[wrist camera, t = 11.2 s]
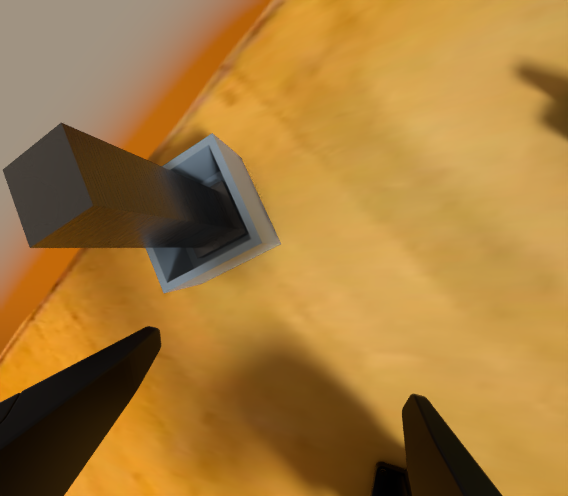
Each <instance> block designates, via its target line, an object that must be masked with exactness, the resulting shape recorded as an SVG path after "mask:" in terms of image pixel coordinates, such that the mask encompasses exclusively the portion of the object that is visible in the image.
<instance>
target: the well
mask: <svg viewBox="0 0 568 496" xmlns="http://www.w3.org/2000/svg"><path fill="white" fill-rule="evenodd" d="M162 167H164V168H166V169H168V170H171V171H173V172H175V173H178V174H180V175H182V176H184V177H187V178H189V179H191V180H194V181H196V182H198V183H200V184H203V185H205V186H207V187H211V186H212V185H214V184H216V183H217V182H219V181H221V180H223V181H224V182H226V184H227V186H228V188H229V190H230V193H231V195H232V197H233V199H234V201H235V204H236V206H237V208H238V210H239V212H240V215H241V217H242V219H243V221H244V224H245V226H246V228H247V230H248V232H249V234H248V235H246V236H244V237H242V238H240V239H238V240H237V241H235V242H233V243H231V244H229V245H227V246H225V247H223V248H221V249H220V250H218V251H216V252H214V253H212V254H210V255H208V256H206V257H204V258H197V257H196V254H195V252H194V250H193V248H146V250H147V253H148V255H149V258H150V260H151V262H152V265H153V267H154V270H155V272H156V275H157V277H158V280H159V282H160V285H161V287H162V290H163V292H164V293H167V292H171V291H175V290H179V289H183V288H187V287H191V286H195V285H199V284H202V283H204V282H206V281H208V280H210V279H212V278H214V277H216V276H218V275H220V274H222V273H224V272H226V271H228V270H230V269H232V268H234V267H236V266H238V265H240V264H242V263H244V262H246V261H248V260H250V259H252V258H254V257H256V256H258V255H260V254H262V253H264V252H266V251H268V250H270V249H272V248H274V247H276V246H278V245H280V244H281V243H280V240H279V238H278V236H277V234H276V232H275V230H274V228H273V225H272V223H271V221H270V219H269V217H268V215H267V212H266V210H265V208H264V206H263V204H262V202H261V200H260V197H259V195H258V193H257V191H256V189H255V187H254V184H253V182H252V180H251V178H250V176H249V174H248V172H247V169H246V167H245V165H244V163H243V161H242V159H241V157H240V156H239V155H237V154H236V153H235V152H234V151H233V150H232V149H230V148H229V147H228V146H227V145H226V144H224V143H223V142H222V141H221V140H220V139H219V138H217V137H216V136H215V135H214V134H213V133H212V134H210V135H209V136H207V137H206V138H204V139H203V140H201V141H200V142H198V143H197V144H195V145H194V146H192V147H191V148H189V149H188V150H186V151H185V152H183V153H182V154H180V155H179V156H177V157H176V158H174V159H173V160H171V161H170V162H168V163H166V164H165V165H163V166H162Z"/></svg>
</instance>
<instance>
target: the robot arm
mask: <svg viewBox="0 0 568 496" xmlns="http://www.w3.org/2000/svg"><path fill="white" fill-rule="evenodd" d="M160 348H161V337H160V330H159V329H158V328H154V327H150V326H148V327H145V328H143V329H141V330H139V331H137V332H135V333H133V334H131V335H130V336H128V337H126V338H124V339H122V340H120V341H118V342H116V343H114V344H112V345H110V346H108V347H106V348H104V349H103V350H101V351H99V352H97V353H95V354H93V355H91V356H89V357H87V358H85V359H83V360H81V361H79V362H77V363H76V364H74V365H72V366H70V367H68V368H66V369H64V370H62V371H60V372H58V373H56V374H54V375H52V376H50V377H49V378H47V379H45V380H43V381H41V382H39V383H37V384H35V385H33V386H31V387H29V388H27V389H25V390H23V391H22V392H21V393H17V394H16V395H14V396H12V397H10V398H8V399H6V400H4V401H2V402H0V496H64V495H65V494H66V492H67V491H68V489H69V488H70V486H71V485H72V484H73V482H74V481H75V479H76V478H77V476H78V475H79V473H80V472H81V471H82V469H83V468H84V466H85V465H86V463H87V462H88V460H89V459H90V458H91V456H92V455H93V453H94V452H95V450H96V449H97V448H98V446H99V445H100V443H101V442H102V440H103V439H104V437H105V436H106V435H107V433H108V432H109V430H110V429H111V427H112V426H113V425H114V423H115V422H116V420H117V419H118V417H119V416H120V414H121V413H122V412H123V410H124V409H125V407H126V406H127V404H128V403H129V402H130V400H131V399H132V397H133V396H134V394H135V393H136V391H137V389H138V388H139V386H140V384H141V382H142V381H143V379H144V377H145V375H146V374H147V372H148V370H149V368H150V367H151V365H152V363H153V361H154V360H155V358H156V356H157V354H158V352H159V351H160ZM402 421H403V431H404V441H405V452H406V461H407V469H408V471H407V470H405V469H402V468H399V467H396V466H393V465H390V464H387V463H385V462H378V463H377V464H376V468H375V473H374V479H373V484H372V490H371V495H370V496H502V494H501V493H500V492H499V491H498V489H497V488H496V487H495V485H494V484H493V483H492V482H491V480H490V479H489V478H488V476H487V475H486V474H485V473H484V471H483V470H482V469H481V467H480V466H479V465H478V463H477V462H476V461H475V460H474V458H473V457H472V456H471V454H470V453H469V452H468V451H467V449H466V448H465V447H464V445H463V444H462V443H461V442H460V440H459V439H458V438H457V436H456V435H455V434H454V433H453V431H452V430H451V429H450V427H449V426H448V425H447V424H446V422H445V421H444V420H443V418H442V417H441V416H440V415H439V413H438V412H437V411H436V409H435V408H434V407H433V406H432V404H431V403H430V402H429V400H428V399H427V398H426V397H424V396H421V395H417V394H411V395H410V397H409V398H408V400H407V402H406V403H405V405H404V407H403V409H402ZM381 469H384V470H385V471H381Z"/></svg>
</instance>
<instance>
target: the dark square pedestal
mask: <svg viewBox="0 0 568 496" xmlns="http://www.w3.org/2000/svg"><path fill="white" fill-rule="evenodd" d="M3 172H4V175H5V178H6V181H7V184H8V186H9V189H10V192H11V195H12V198H13V201H14V204H15V207H16V209H17V212H18V215H19V218H20V221H21V224H22V227H23V230H24V232H25V235H26V238H27V241H28V244H29V247H30V248H193V250H194V252H195V254H196V257H197V258H204V257H206V256H208V255H210V254H212V253H214V252H216V251H218V250H220V249H221V248H223V247H225V246H227V245H229V244H231V243H233V242H235V241H237V240H238V239H240V238H242V237H244V236H246V235H248V234H249V232H248V230H247V228H246V226H245V224H244V221H243V219H242V217H241V215H240V212H239V210H238V208H237V206H236V204H235V201H234V199H233V197H232V195H231V193H230V190H229V188H228V186H227V184H226V182H224V181H223V180H221V181H219V182H217V183H216V184H214V185H212V186H211V187H207V186H205V185H203V184H200V183H198V182H196V181H194V180H191V179H189V178H187V177H184V176H182V175H180V174H178V173H175V172H173V171H171V170H168V169H166V168H164V167H162V166H159V165H157V164H155V163H152V162H150V161H148V160H146V159H143V158H141V157H139V156H136V155H134V154H132V153H129V152H127V151H125V150H123V149H120V148H118V147H116V146H114V145H111V144H109V143H107V142H104V141H102V140H100V139H98V138H95V137H93V136H91V135H88V134H86V133H84V132H81V131H79V130H77V129H74V128H72V127H70V126H68V125H65V124H63V123H60V124H59V125H58V126H57V127H55V128H54V129H53V130H51V131H50V132H49V133H48V134H47V135H45V136H44V137H43V138H42V139H40V140H39V141H38V142H37V143H35V144H34V145H33V146H32V147H30V148H29V149H28V150H27V151H25V152H24V153H23V154H22V155H20V156H19V157H18V158H17V159H15V160H14V161H13V162H12V163H11V164H9V165H8V166H7V167H6V168H4V169H3Z"/></svg>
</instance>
